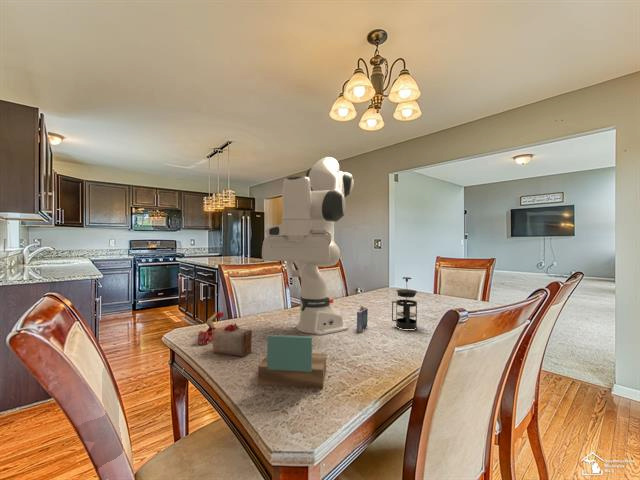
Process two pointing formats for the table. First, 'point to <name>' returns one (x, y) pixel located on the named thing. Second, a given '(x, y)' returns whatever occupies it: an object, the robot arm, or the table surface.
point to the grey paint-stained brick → (232, 340)
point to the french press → (405, 309)
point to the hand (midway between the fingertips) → (296, 276)
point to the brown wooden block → (294, 374)
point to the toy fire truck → (209, 329)
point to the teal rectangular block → (289, 353)
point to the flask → (362, 318)
